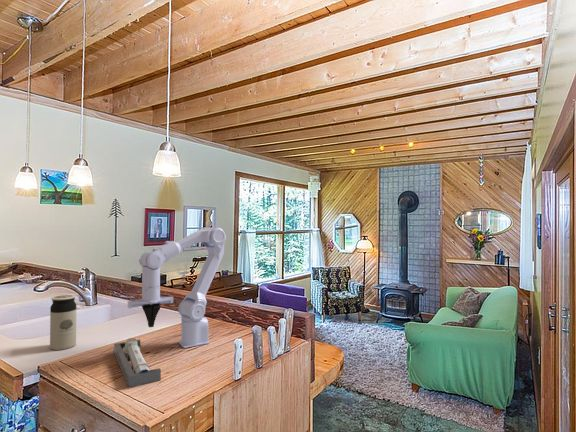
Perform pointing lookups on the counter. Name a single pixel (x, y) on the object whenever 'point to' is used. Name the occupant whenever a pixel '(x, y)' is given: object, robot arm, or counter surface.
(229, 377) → the counter surface
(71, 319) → the travel mug
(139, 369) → the white handheld device
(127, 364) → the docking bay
